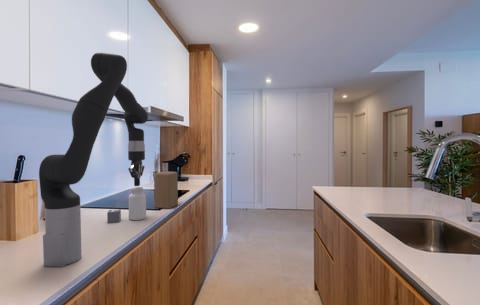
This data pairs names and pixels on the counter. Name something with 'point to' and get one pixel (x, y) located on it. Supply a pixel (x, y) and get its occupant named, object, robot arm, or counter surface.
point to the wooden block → (166, 189)
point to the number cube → (114, 216)
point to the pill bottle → (137, 204)
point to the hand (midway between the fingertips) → (137, 185)
